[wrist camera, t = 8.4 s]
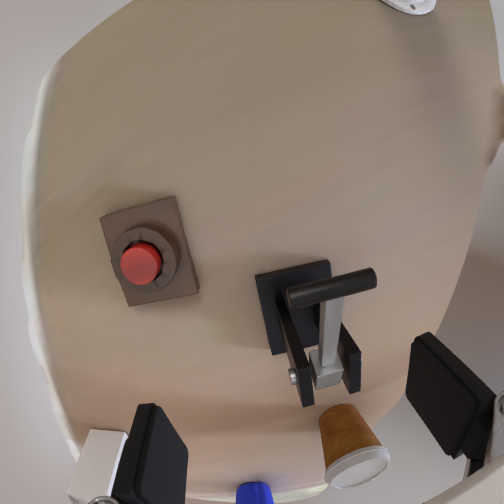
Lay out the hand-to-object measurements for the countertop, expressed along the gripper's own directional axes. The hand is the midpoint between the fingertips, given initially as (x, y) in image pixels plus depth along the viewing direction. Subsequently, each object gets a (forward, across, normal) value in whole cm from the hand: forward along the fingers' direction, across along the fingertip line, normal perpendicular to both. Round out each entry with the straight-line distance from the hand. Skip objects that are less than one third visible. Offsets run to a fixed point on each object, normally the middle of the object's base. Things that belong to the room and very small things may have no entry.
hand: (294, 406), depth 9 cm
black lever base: (+22, -4, +8) cm, 24 cm away
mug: (+23, +10, +48) cm, 54 cm away
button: (+19, +10, -2) cm, 21 cm away
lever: (+10, -4, +4) cm, 11 cm away
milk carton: (+23, +30, +29) cm, 48 cm away
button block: (+22, +10, -2) cm, 24 cm away
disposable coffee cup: (+22, -7, +30) cm, 38 cm away
